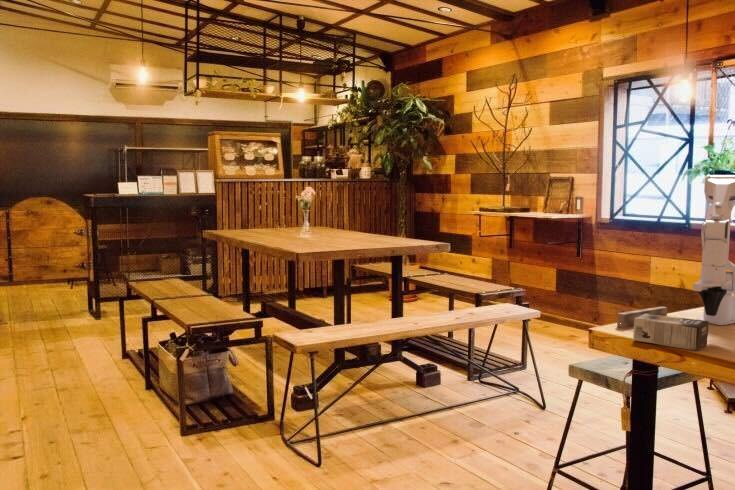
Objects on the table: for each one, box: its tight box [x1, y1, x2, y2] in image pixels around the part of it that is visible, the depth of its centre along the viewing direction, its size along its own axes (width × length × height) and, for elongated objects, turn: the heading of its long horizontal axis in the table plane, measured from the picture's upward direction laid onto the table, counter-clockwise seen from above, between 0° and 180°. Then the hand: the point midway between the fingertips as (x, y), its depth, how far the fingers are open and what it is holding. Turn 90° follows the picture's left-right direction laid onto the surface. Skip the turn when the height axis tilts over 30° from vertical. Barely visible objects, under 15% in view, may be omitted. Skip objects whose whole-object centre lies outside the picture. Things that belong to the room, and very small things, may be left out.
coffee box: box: [632, 314, 710, 352], centre depth 175 cm, size 9×6×16 cm
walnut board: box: [616, 306, 668, 329], centre depth 198 cm, size 20×2×4 cm, turn 121°
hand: (711, 315), depth 180 cm, fingers closed
